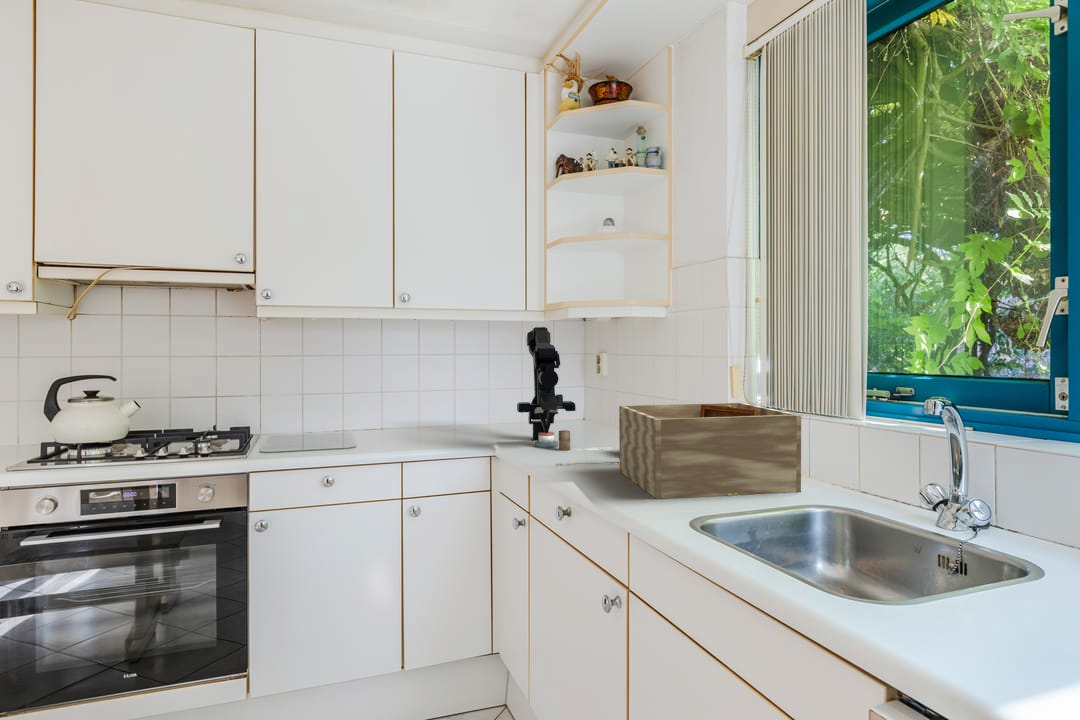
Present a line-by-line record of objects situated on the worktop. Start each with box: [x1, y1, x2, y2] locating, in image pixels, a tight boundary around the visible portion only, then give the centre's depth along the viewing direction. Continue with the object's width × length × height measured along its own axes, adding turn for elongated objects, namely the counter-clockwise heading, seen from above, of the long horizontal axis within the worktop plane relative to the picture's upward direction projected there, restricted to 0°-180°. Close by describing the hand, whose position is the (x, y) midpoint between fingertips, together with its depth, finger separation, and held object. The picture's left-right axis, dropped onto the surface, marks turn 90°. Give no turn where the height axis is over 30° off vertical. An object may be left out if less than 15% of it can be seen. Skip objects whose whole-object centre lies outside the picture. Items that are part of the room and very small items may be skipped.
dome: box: [538, 431, 555, 443], centre depth 200 cm, size 5×5×3 cm
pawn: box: [558, 429, 571, 452], centre depth 193 cm, size 4×4×6 cm
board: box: [534, 440, 614, 453], centre depth 198 cm, size 15×24×2 cm, turn 99°
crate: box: [618, 402, 802, 500], centre depth 154 cm, size 29×35×18 cm
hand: (546, 432), depth 200 cm, fingers closed, pressing on dome
